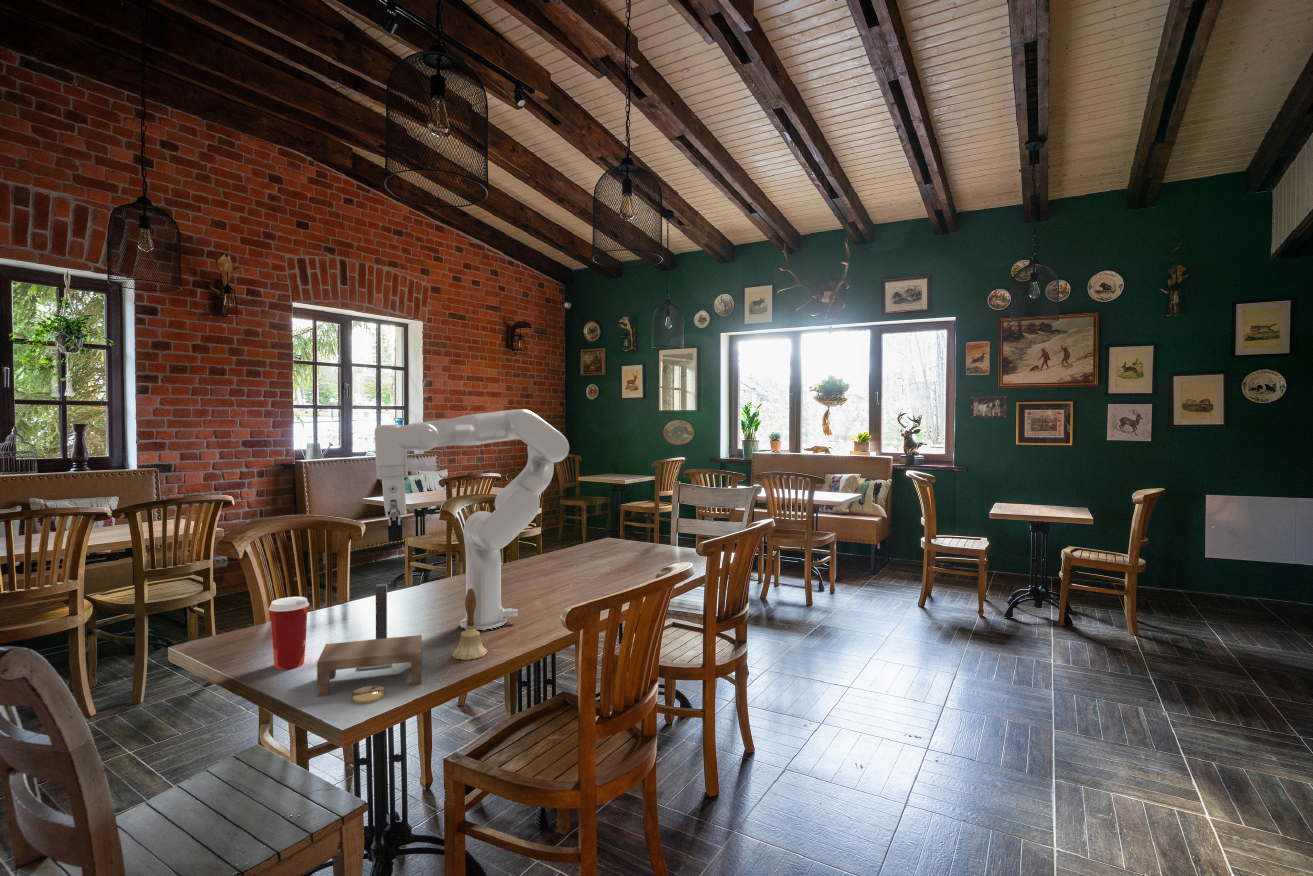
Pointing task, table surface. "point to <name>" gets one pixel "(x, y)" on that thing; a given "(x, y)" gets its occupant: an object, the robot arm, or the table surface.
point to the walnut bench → (368, 657)
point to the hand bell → (469, 634)
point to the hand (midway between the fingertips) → (395, 537)
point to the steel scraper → (380, 619)
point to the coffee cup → (289, 631)
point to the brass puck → (367, 694)
